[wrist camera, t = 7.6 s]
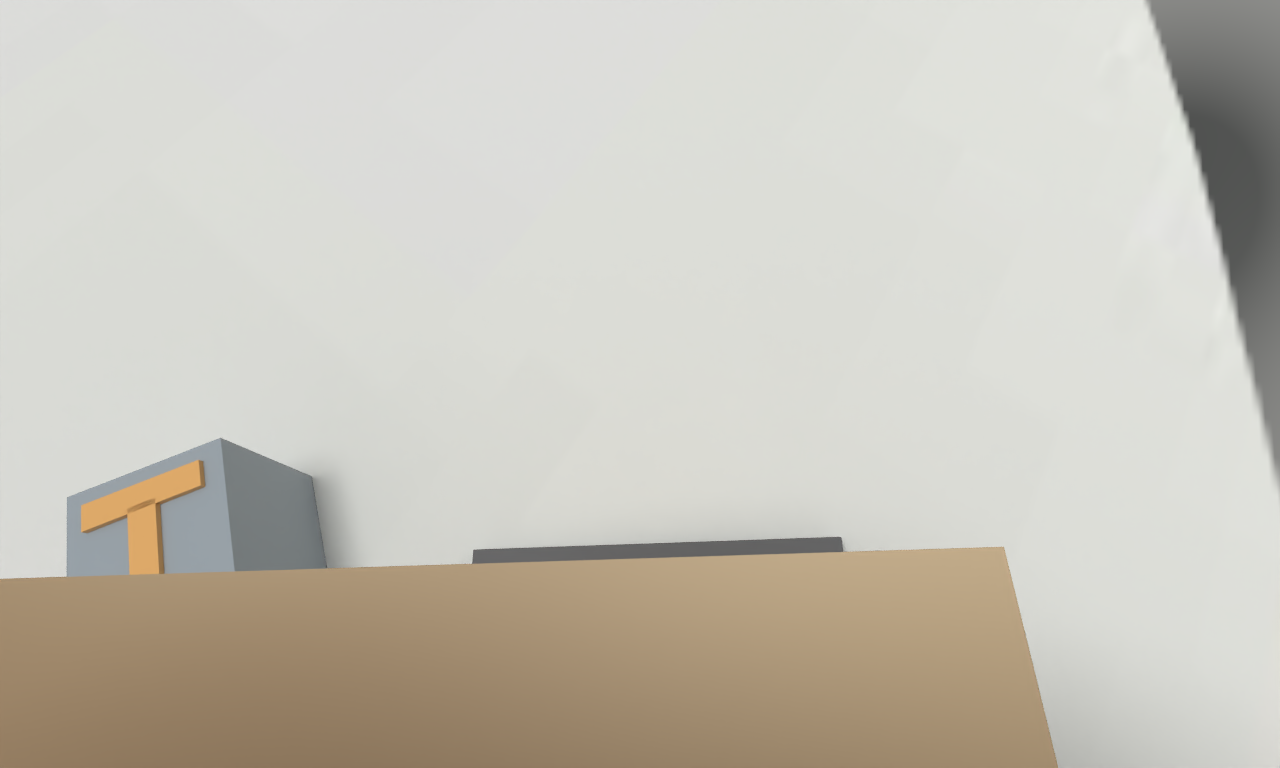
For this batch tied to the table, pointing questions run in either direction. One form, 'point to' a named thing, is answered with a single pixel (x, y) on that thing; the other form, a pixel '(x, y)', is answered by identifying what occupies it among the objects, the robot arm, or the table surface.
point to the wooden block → (529, 666)
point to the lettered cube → (197, 517)
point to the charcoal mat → (659, 550)
